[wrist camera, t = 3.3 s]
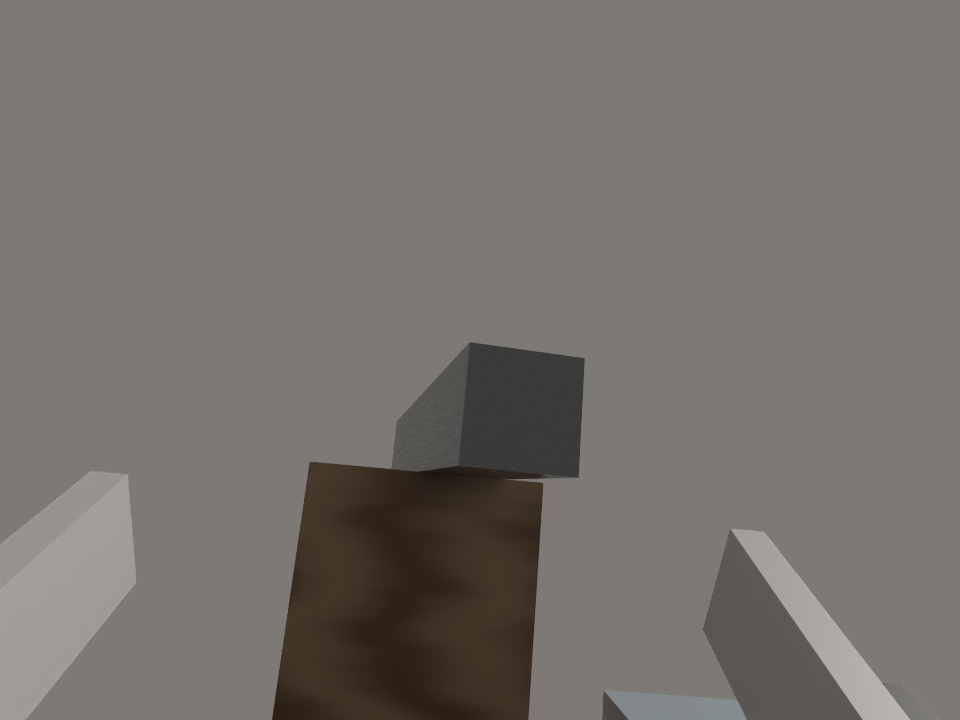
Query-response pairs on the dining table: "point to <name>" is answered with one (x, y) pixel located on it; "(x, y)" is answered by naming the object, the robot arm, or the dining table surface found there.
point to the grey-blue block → (667, 707)
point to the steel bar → (496, 417)
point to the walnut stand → (411, 597)
